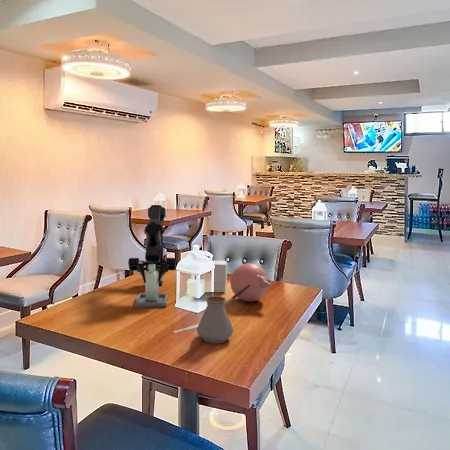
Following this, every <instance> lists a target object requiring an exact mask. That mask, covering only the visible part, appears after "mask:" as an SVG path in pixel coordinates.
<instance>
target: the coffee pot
mask: <svg viewBox="0 0 450 450" xmlns="http://www.w3.org/2000/svg"><path fill="white" fill-rule="evenodd" d="M250 286H251V285H250V284H249V285H247V286H246V287H244V288H243V289H242V290H240V291H238V292H237V293H236V294H234V295H233V296H231V297H230V298H229V299H228V300H226V297H223V296H220V295H219V296H218V295H213V296H212V295H211V296H207V297H206V298H205V302H206V304H207V306H206V307H205V310H204V312H203V314H202V317H201V319H200V321H199V323H198V324H199V325H198V327H197V328H196V332H197V335H198V336H199V337H200V338H201V339H202V340H203V341H204V342H207V343H209V344H221V343H222V344H223V343H224V342H227V340H228V339H229V338H230V337H231V336H232V334H233V333H234V329H233V326H232V323H231V320H230V318H229V315H228V312H227V311H226V308H225V307H226V306H227V305H228V304H230V303H231V302H232V301H234V300H235V299H236V298H238V296H239V295H241V294H242V293H243V292H244V291H245V290H247V288H249V287H250ZM251 287H252V286H251ZM249 289H250V288H249ZM252 289H253V287H252ZM252 289H250V290H252Z"/></svg>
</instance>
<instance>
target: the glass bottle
mask: <svg viewBox="0 0 450 450" xmlns="http://www.w3.org/2000/svg"><path fill="white" fill-rule="evenodd" d="M144 285H145V287H144V288H145V289H144V290H145V291H144V294H145V300H146V301H157V300H159V294H160V291H159V290H160V286H159V272H158V271H155V264H149V271H146V270H145V283H144Z"/></svg>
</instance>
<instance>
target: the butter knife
mask: <svg viewBox="0 0 450 450" xmlns="http://www.w3.org/2000/svg"><path fill="white" fill-rule="evenodd" d="M198 325H199V323H197V324H194V325H191V326H187V327H185V328H181V329H178V330H174V331H172V333H174V334H177V333H180V332H185V331H187V330H193V329H197V327H198Z"/></svg>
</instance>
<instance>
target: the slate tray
mask: <svg viewBox="0 0 450 450" xmlns="http://www.w3.org/2000/svg"><path fill="white" fill-rule="evenodd" d="M168 295H169V294H168V293H159V300H157V301H146V300H145V293H138V296H137V298H136V299H135V302H134V308H166V307H167V302H168V297H169V296H168Z"/></svg>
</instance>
